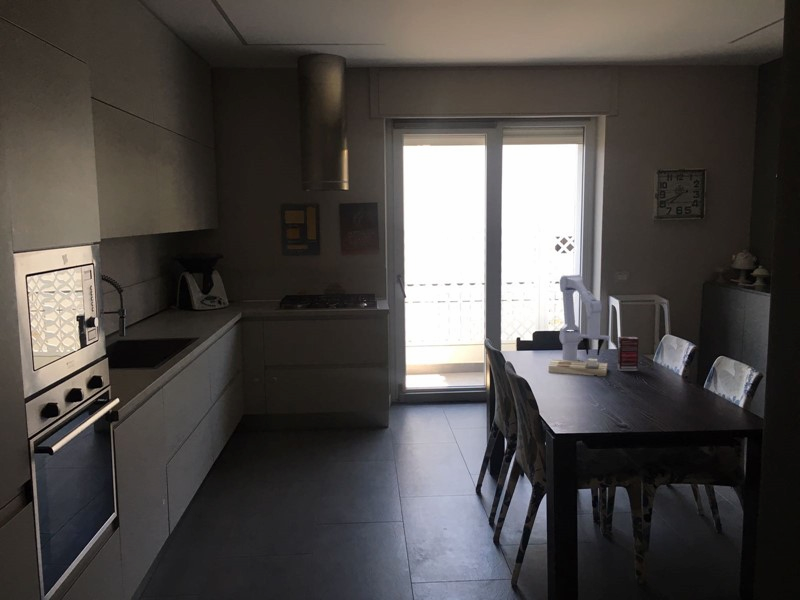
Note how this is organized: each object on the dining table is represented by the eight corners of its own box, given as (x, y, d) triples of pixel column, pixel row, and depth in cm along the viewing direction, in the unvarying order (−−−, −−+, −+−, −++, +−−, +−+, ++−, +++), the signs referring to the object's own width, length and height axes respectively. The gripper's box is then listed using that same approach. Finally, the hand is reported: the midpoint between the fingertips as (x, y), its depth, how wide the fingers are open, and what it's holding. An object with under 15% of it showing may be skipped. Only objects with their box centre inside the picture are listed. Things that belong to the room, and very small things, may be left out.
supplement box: (635, 368, 309) (636, 336, 307) (637, 371, 304) (639, 338, 302) (616, 368, 310) (618, 336, 308) (619, 371, 305) (620, 338, 303)
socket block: (552, 365, 318) (552, 358, 317) (607, 369, 308) (607, 362, 308) (548, 371, 305) (548, 364, 304) (605, 376, 295) (605, 369, 295)
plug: (588, 370, 307) (588, 358, 306) (596, 371, 305) (597, 358, 304) (587, 372, 303) (587, 360, 302) (596, 373, 302) (596, 360, 301)
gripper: (577, 326, 300) (576, 355, 302) (609, 328, 295) (608, 357, 297) (578, 324, 307) (577, 352, 308) (610, 326, 301) (609, 354, 303)
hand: (592, 354), depth 303 cm, fingers open, 4 cm apart
